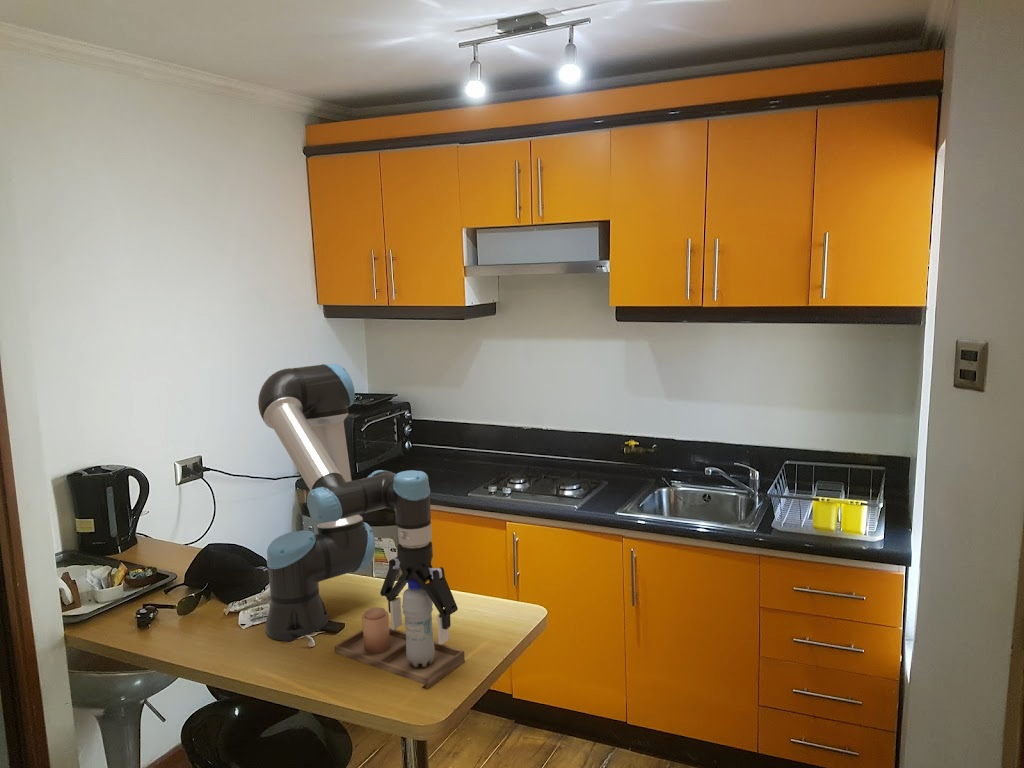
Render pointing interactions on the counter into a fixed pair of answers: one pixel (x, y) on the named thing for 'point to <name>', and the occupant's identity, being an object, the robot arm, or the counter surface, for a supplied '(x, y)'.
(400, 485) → the robot arm
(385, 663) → the caddy
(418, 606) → the bottle
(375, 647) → the jar
